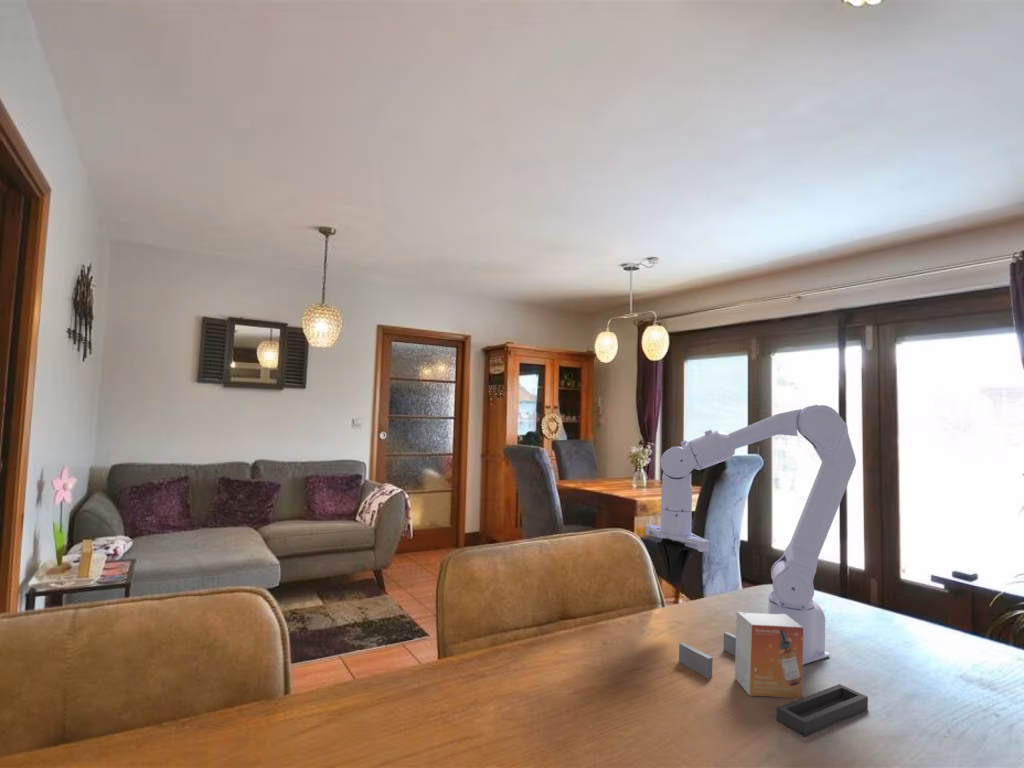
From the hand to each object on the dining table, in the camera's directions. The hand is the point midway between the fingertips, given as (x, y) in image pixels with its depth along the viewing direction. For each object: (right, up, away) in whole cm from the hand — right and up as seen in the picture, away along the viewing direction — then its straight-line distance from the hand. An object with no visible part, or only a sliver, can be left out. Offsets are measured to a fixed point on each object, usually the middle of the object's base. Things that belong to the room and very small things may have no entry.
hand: (674, 580), depth 105 cm
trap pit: (+12, -9, -28) cm, 32 cm away
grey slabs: (+3, -9, -13) cm, 16 cm away
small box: (+8, -9, -21) cm, 24 cm away
